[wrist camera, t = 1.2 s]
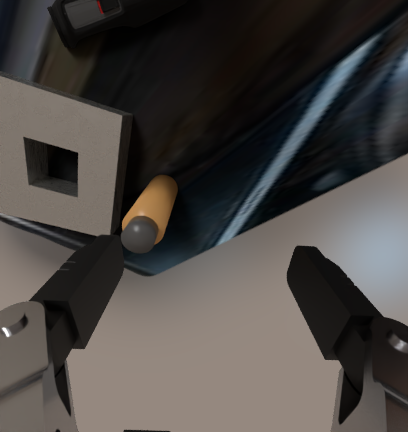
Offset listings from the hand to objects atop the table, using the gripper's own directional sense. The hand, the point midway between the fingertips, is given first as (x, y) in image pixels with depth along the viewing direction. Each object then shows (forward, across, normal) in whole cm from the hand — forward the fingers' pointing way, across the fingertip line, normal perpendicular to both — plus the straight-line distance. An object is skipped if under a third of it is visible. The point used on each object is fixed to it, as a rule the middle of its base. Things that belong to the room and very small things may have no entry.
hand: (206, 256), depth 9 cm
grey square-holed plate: (+23, +20, +2) cm, 30 cm away
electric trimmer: (+23, +10, -16) cm, 29 cm away
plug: (+23, +6, +5) cm, 24 cm away
